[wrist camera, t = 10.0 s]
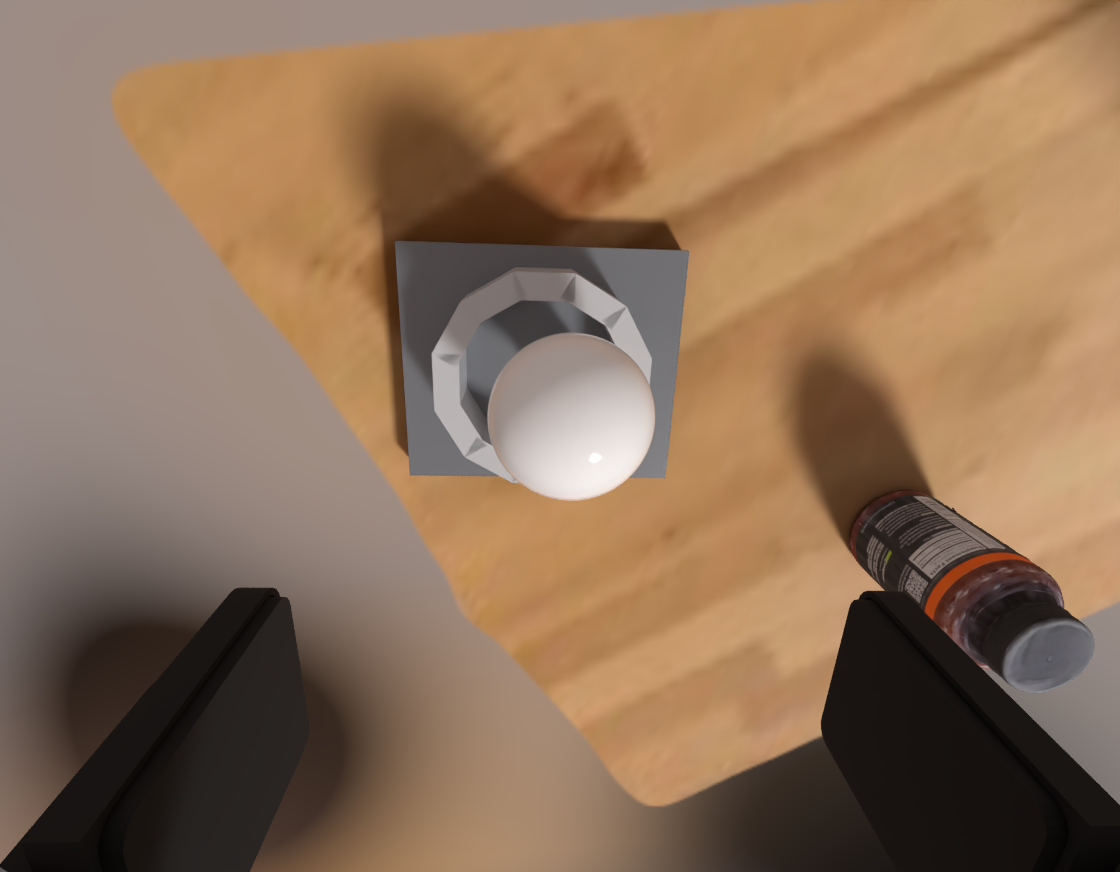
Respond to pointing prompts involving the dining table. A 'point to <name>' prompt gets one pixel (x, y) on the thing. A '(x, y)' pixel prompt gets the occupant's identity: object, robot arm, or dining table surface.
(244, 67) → the dining table surface
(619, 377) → the lightbulb
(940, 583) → the supplement bottle
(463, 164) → the dining table surface
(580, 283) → the socket holder
